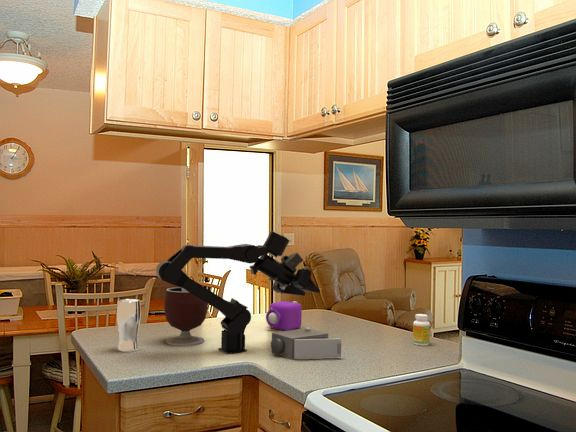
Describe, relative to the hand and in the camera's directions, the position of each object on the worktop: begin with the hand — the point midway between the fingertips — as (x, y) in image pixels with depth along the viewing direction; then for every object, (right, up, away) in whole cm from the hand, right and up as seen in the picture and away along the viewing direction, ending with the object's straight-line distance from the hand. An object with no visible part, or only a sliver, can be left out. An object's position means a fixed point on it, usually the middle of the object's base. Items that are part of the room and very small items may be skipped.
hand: (312, 293), depth 181 cm
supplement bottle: (+37, -18, +6) cm, 41 cm away
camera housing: (-5, -17, -11) cm, 21 cm away
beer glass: (-56, -16, -11) cm, 60 cm away
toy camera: (-10, -17, +27) cm, 33 cm away
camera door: (+1, -16, -18) cm, 24 cm away
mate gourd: (-42, -16, +3) cm, 45 cm away
